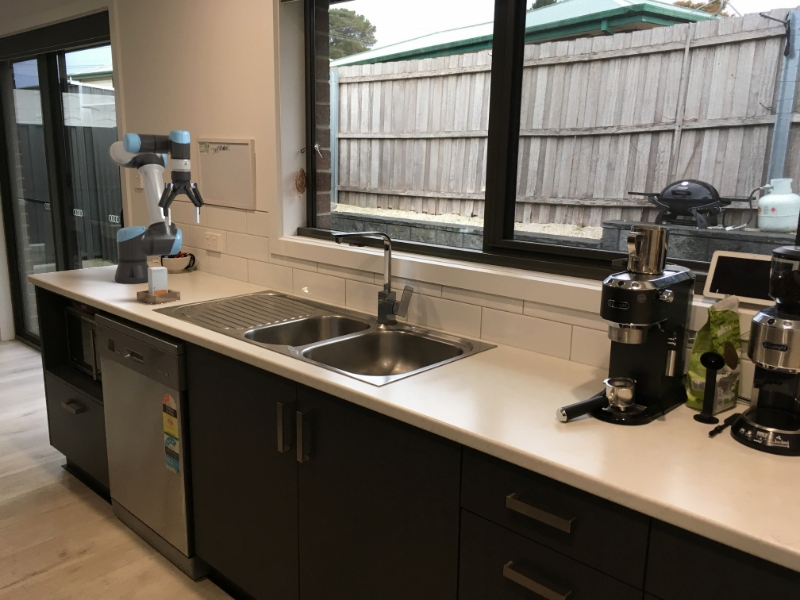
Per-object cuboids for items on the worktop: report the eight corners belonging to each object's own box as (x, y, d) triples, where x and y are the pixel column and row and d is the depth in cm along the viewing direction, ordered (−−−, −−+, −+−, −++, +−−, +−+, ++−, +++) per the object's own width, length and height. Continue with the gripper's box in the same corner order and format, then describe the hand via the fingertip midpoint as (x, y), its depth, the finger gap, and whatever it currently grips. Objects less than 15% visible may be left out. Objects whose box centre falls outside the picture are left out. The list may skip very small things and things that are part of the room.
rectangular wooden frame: (137, 300, 241) (136, 292, 241) (161, 296, 250) (161, 287, 250) (155, 304, 236) (155, 296, 235) (180, 300, 245) (180, 291, 244)
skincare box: (152, 300, 239) (151, 269, 237) (148, 298, 242) (147, 267, 240) (168, 299, 243) (167, 268, 241) (164, 297, 246) (163, 266, 244)
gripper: (159, 170, 242) (161, 226, 247) (212, 171, 262) (213, 222, 267) (147, 169, 246) (149, 224, 251) (200, 170, 266) (201, 221, 271)
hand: (182, 223), depth 259 cm, fingers open, 13 cm apart
